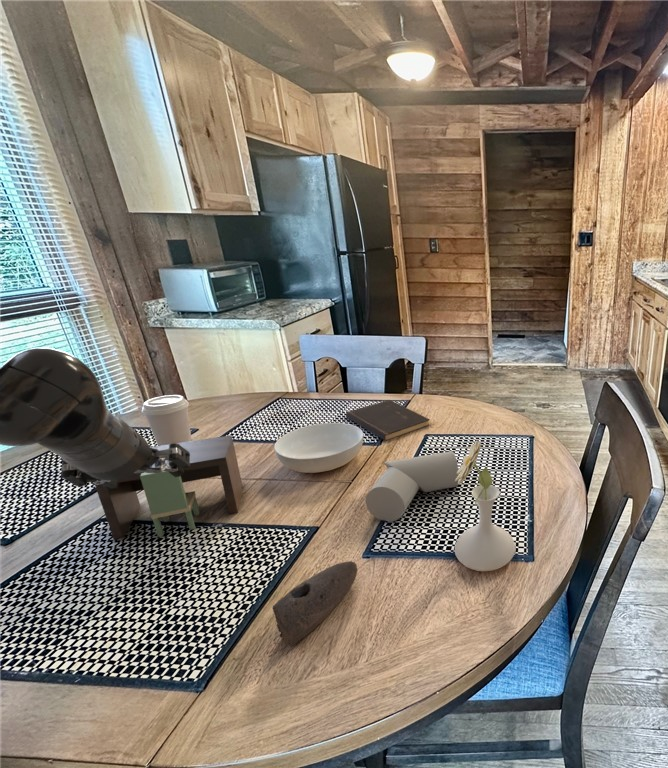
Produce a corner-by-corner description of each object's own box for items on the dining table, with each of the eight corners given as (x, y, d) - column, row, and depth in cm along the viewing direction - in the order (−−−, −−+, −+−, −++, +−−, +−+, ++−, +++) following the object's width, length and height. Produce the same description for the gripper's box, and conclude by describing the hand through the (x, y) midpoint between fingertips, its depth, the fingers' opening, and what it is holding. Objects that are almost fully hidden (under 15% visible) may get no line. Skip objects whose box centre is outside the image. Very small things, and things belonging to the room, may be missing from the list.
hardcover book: (390, 405, 146) (389, 399, 145) (430, 425, 131) (429, 419, 131) (346, 418, 135) (345, 412, 134) (385, 442, 120) (384, 434, 119)
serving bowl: (382, 453, 114) (380, 431, 111) (319, 493, 95) (315, 466, 93) (326, 437, 122) (323, 416, 119) (259, 471, 104) (254, 446, 101)
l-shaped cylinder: (395, 465, 106) (357, 513, 87) (401, 429, 102) (363, 471, 83) (461, 485, 105) (437, 538, 86) (470, 449, 101) (447, 496, 83)
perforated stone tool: (347, 575, 73) (343, 542, 70) (369, 587, 70) (366, 554, 68) (265, 644, 60) (257, 607, 58) (288, 661, 58) (281, 623, 56)
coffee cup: (145, 457, 108) (129, 404, 103) (182, 441, 116) (169, 391, 112) (172, 464, 105) (157, 409, 100) (208, 447, 114) (196, 396, 109)
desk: (238, 513, 88) (225, 457, 83) (114, 541, 79) (92, 479, 74) (242, 487, 97) (231, 434, 92) (132, 509, 88) (114, 452, 84)
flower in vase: (471, 528, 85) (471, 417, 77) (523, 543, 82) (529, 428, 73) (438, 572, 74) (434, 447, 66) (497, 592, 70) (500, 462, 62)
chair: (195, 531, 82) (178, 469, 78) (157, 539, 80) (137, 476, 75) (200, 513, 87) (185, 454, 83) (165, 520, 85) (147, 460, 80)
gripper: (29, 483, 54) (91, 509, 67) (167, 461, 60) (198, 488, 73) (35, 430, 56) (94, 464, 70) (167, 413, 62) (197, 448, 76)
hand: (147, 476), depth 71 cm, fingers open, 8 cm apart
